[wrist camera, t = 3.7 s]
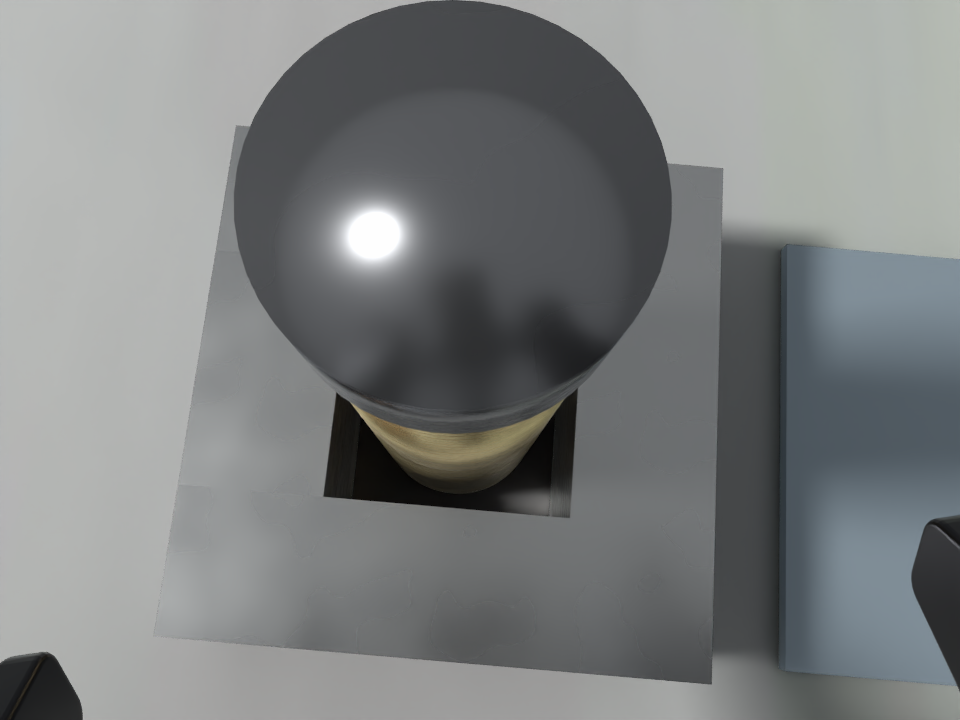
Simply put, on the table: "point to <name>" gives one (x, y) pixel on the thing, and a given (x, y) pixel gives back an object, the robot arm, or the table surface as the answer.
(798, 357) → the rubber mat
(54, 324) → the table surface
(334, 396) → the metal housing
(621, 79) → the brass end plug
